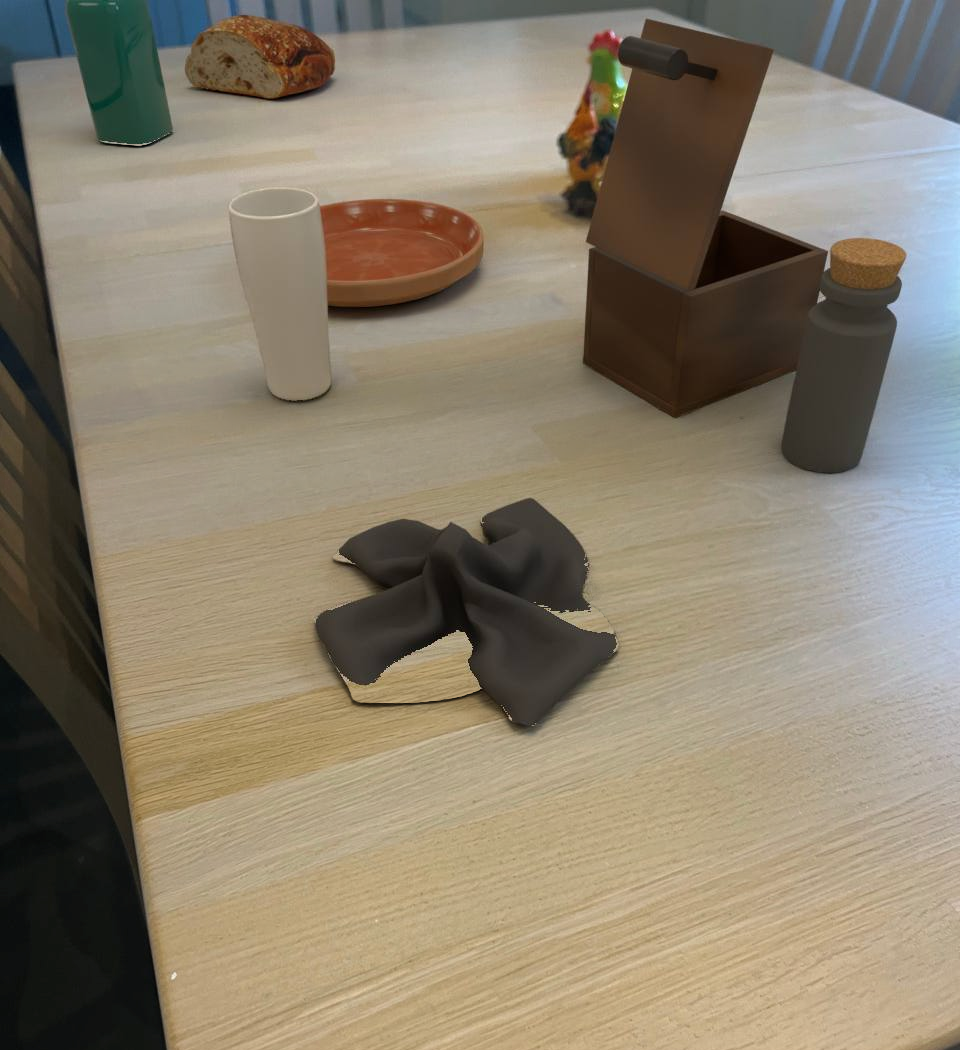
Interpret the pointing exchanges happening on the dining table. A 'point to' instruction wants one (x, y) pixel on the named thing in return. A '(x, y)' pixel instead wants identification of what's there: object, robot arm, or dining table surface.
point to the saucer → (396, 250)
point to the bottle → (843, 356)
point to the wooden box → (703, 317)
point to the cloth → (473, 605)
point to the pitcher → (120, 69)
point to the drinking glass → (285, 286)
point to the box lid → (675, 147)
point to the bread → (259, 58)
